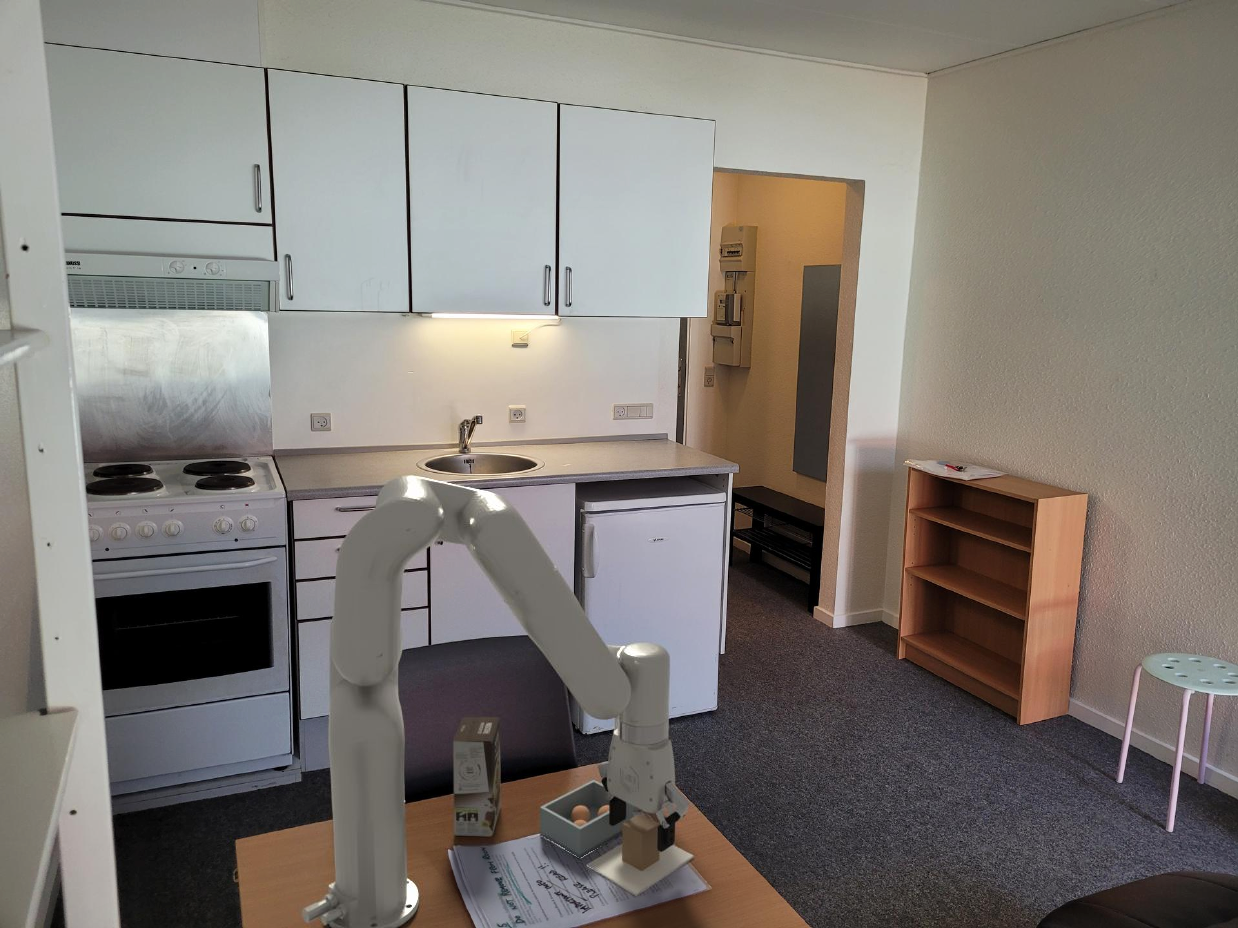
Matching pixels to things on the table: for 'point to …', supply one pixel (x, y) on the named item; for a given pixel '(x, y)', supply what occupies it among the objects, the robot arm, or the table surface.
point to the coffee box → (476, 776)
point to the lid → (639, 857)
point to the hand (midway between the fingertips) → (641, 834)
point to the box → (589, 835)
